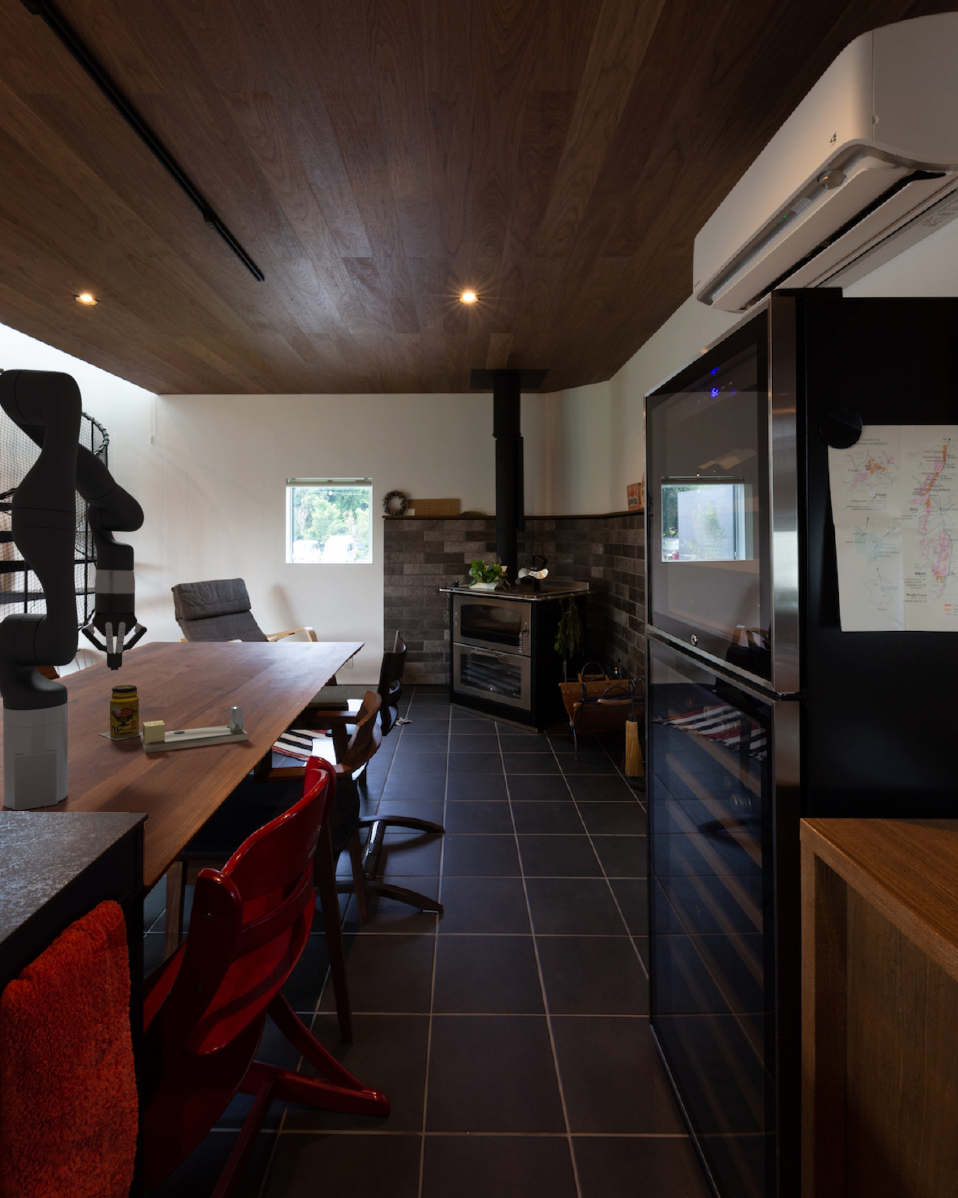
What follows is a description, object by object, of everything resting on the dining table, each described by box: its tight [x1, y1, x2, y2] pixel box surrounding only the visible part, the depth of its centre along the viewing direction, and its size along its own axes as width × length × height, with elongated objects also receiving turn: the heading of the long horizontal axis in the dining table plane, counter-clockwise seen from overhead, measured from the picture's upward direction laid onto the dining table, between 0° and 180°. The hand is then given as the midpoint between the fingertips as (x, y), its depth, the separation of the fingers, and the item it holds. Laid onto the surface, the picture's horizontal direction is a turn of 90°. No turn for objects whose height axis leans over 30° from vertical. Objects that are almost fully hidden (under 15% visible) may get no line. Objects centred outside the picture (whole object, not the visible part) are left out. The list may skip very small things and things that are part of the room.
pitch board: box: [140, 724, 249, 754], centre depth 145 cm, size 10×22×2 cm, turn 124°
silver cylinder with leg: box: [229, 705, 244, 733], centre depth 150 cm, size 6×3×6 cm, turn 34°
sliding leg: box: [142, 720, 166, 744], centre depth 140 cm, size 7×4×4 cm, turn 35°
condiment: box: [98, 684, 143, 741], centre depth 148 cm, size 7×8×12 cm
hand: (114, 669), depth 133 cm, fingers closed
